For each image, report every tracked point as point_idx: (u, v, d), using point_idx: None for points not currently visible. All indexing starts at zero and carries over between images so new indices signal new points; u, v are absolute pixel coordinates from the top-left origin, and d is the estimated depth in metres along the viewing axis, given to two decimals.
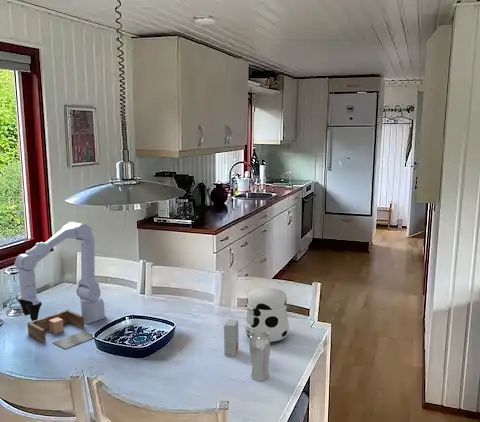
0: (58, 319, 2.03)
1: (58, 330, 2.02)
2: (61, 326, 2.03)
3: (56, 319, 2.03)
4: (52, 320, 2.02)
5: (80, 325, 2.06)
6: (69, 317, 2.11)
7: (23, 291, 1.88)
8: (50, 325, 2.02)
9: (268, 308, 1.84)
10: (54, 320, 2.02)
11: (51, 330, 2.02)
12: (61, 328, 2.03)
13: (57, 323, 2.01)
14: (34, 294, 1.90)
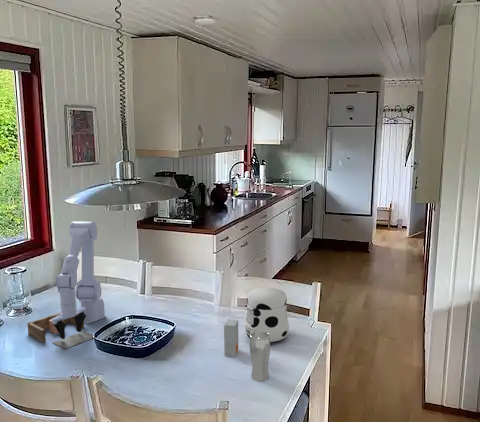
0: None
1: None
2: None
3: None
4: None
5: None
6: None
7: None
8: (50, 325, 2.02)
9: (268, 308, 1.84)
10: None
11: (51, 330, 2.02)
12: None
13: None
14: (65, 314, 1.92)
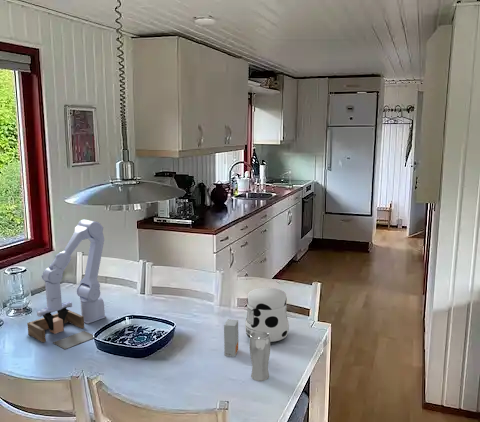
0: (58, 319, 2.03)
1: (58, 330, 2.02)
2: (61, 326, 2.03)
3: (56, 319, 2.03)
4: None
5: (80, 325, 2.06)
6: (69, 317, 2.11)
7: None
8: None
9: (268, 308, 1.84)
10: (54, 320, 2.02)
11: (51, 330, 2.02)
12: (61, 327, 2.03)
13: (57, 323, 2.01)
14: (50, 308, 1.99)
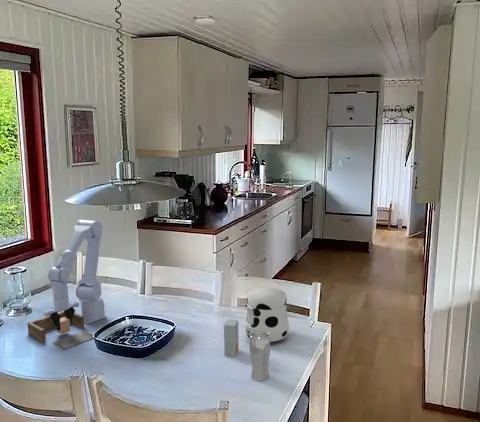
0: (65, 319, 1.99)
1: (65, 330, 1.98)
2: (68, 326, 1.99)
3: (63, 319, 1.99)
4: None
5: (80, 325, 2.06)
6: None
7: None
8: None
9: (268, 308, 1.84)
10: (61, 320, 1.98)
11: (57, 330, 1.99)
12: (68, 328, 1.99)
13: (64, 323, 1.97)
14: (57, 307, 1.95)
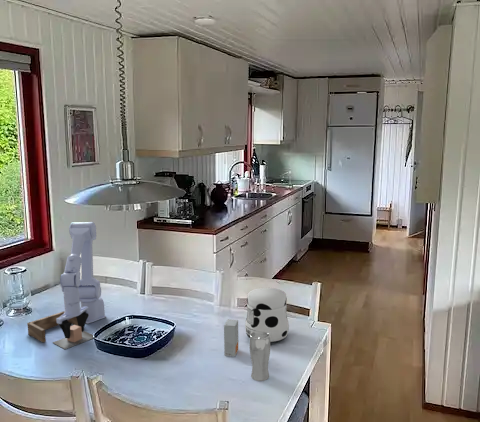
0: (76, 326, 1.94)
1: (77, 338, 1.93)
2: (80, 333, 1.94)
3: (74, 327, 1.94)
4: (70, 328, 1.93)
5: None
6: None
7: None
8: None
9: (268, 308, 1.84)
10: (73, 328, 1.93)
11: (69, 338, 1.93)
12: (80, 335, 1.94)
13: (76, 331, 1.92)
14: (70, 313, 1.90)
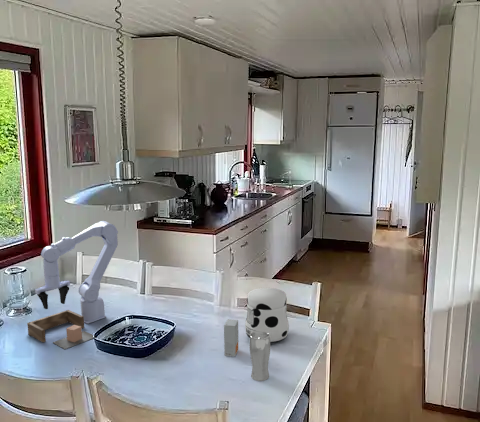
0: (76, 326, 1.94)
1: (77, 338, 1.93)
2: (80, 333, 1.94)
3: (74, 327, 1.94)
4: (70, 328, 1.93)
5: (80, 325, 2.06)
6: (69, 317, 2.11)
7: None
8: (68, 333, 1.93)
9: (268, 308, 1.84)
10: (73, 328, 1.93)
11: (69, 338, 1.93)
12: (80, 335, 1.94)
13: (76, 331, 1.92)
14: (48, 286, 2.02)
